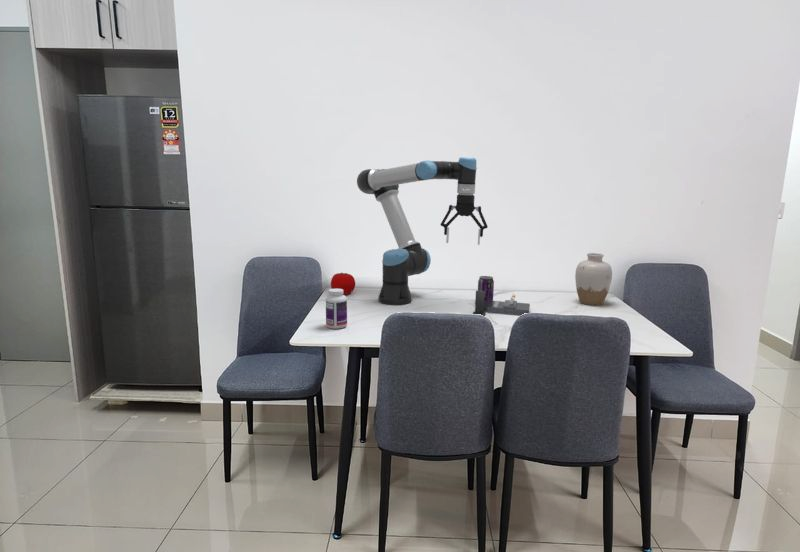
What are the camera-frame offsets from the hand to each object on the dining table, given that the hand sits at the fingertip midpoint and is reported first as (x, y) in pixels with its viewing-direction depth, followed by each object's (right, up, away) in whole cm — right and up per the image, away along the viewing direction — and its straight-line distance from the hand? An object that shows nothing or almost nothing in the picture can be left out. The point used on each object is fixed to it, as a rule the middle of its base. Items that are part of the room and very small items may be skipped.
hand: (462, 243), depth 233 cm
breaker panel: (+17, -29, -1) cm, 34 cm away
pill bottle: (-52, -34, -29) cm, 68 cm away
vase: (+61, -27, +14) cm, 68 cm away
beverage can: (+12, -27, +11) cm, 31 cm away
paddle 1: (+21, -25, -1) cm, 33 cm away
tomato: (-55, -23, +25) cm, 65 cm away
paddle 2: (+20, -26, -5) cm, 33 cm away
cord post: (+6, -30, -9) cm, 32 cm away
